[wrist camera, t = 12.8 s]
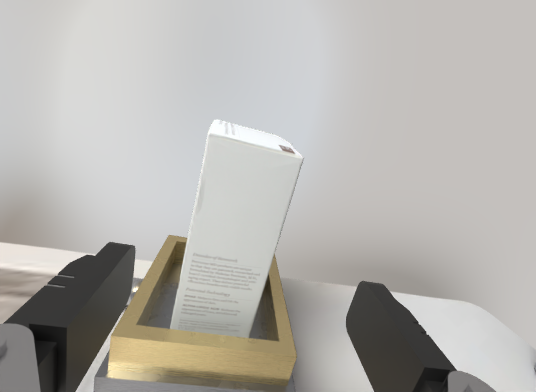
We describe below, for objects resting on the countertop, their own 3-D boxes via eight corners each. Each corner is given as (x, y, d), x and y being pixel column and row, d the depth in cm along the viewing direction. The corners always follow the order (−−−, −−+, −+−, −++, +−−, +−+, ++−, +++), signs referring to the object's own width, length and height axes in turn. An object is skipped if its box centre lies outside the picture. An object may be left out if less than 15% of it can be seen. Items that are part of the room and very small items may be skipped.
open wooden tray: (264, 300, 32) (278, 250, 30) (280, 437, 19) (306, 364, 17) (129, 281, 30) (134, 226, 28) (37, 422, 16) (36, 335, 15)
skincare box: (183, 274, 26) (209, 117, 22) (245, 281, 28) (281, 133, 24) (166, 347, 19) (201, 125, 14) (253, 351, 20) (309, 148, 16)
